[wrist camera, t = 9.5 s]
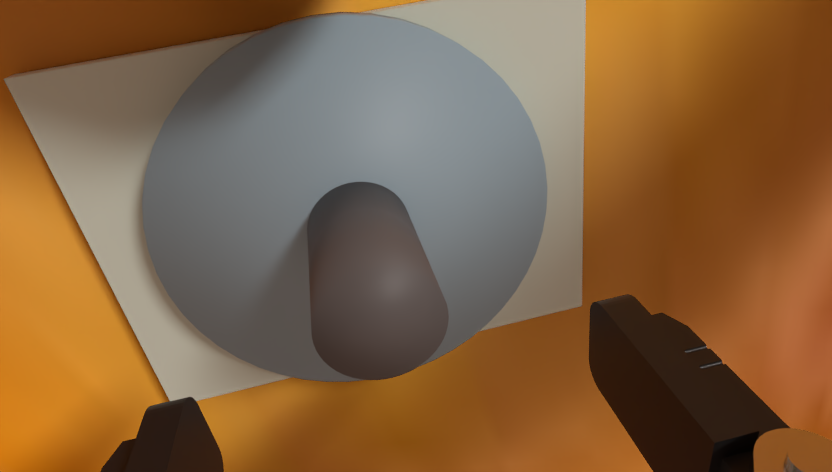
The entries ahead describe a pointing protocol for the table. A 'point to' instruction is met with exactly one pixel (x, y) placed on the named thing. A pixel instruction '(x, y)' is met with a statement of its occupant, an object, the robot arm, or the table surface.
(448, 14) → the mat
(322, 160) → the lid
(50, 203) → the table surface
